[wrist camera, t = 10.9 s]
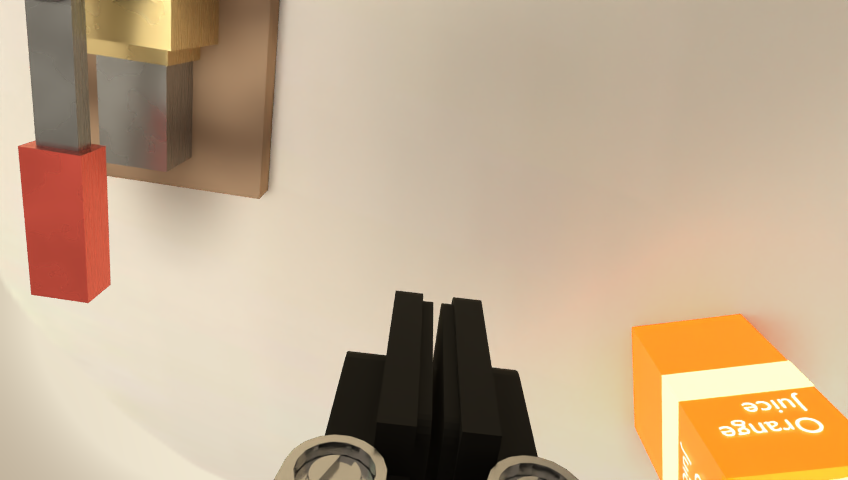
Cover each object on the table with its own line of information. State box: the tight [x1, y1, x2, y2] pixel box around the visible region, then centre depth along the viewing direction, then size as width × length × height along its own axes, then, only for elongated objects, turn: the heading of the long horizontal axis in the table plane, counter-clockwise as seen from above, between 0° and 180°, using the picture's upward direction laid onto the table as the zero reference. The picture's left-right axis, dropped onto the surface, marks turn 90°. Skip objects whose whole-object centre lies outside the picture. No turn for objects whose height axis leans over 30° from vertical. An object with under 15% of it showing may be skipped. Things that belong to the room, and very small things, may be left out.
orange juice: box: [632, 314, 848, 480], centre depth 34 cm, size 8×9×20 cm
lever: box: [18, 0, 110, 303], centre depth 25 cm, size 3×16×3 cm, turn 171°
